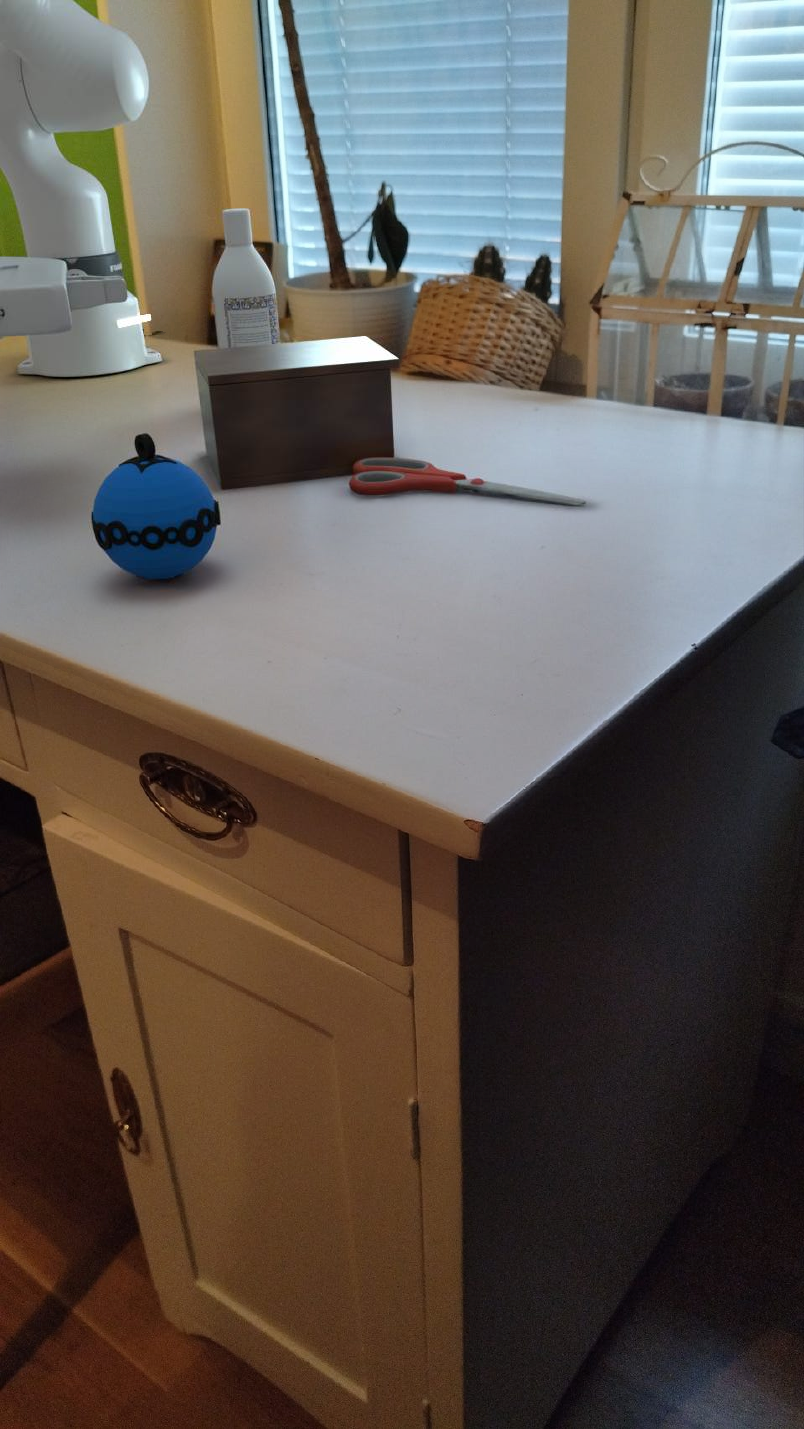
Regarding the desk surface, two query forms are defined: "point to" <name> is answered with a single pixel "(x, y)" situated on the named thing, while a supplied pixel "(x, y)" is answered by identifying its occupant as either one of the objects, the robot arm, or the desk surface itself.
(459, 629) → the desk surface
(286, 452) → the chest
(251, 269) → the bath foam
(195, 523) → the ornament
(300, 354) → the lid
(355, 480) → the scissors
